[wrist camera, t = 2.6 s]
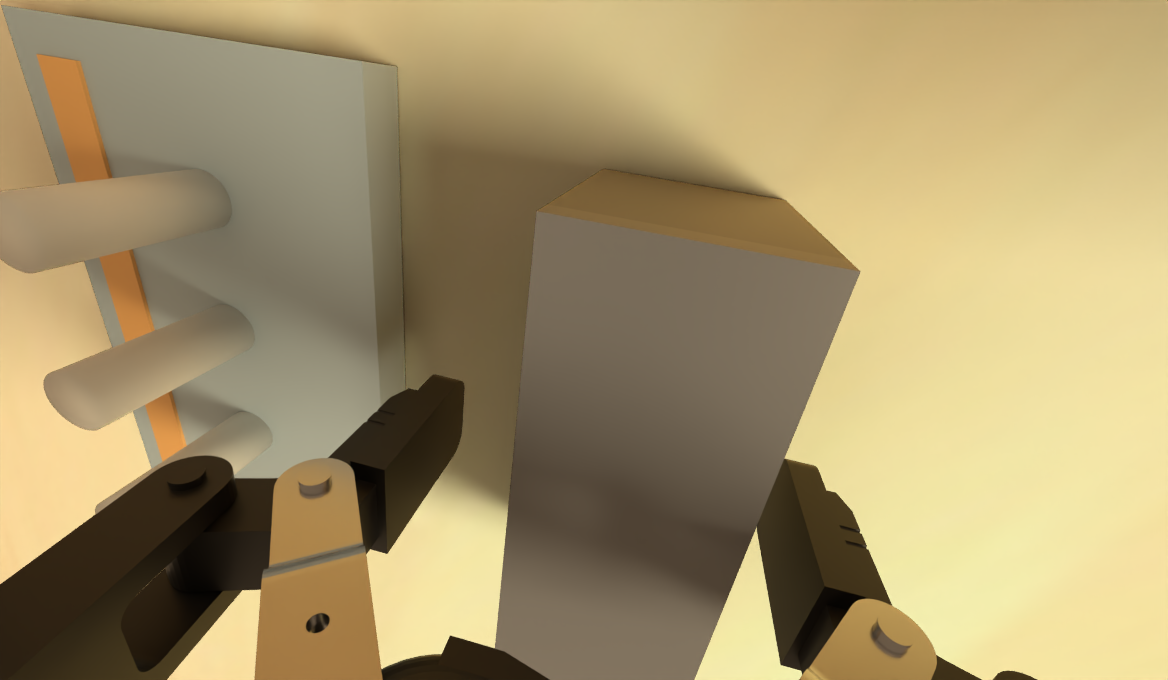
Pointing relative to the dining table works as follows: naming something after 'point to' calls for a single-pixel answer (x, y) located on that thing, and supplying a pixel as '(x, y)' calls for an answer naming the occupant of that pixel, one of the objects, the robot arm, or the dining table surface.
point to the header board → (216, 236)
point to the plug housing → (654, 415)
